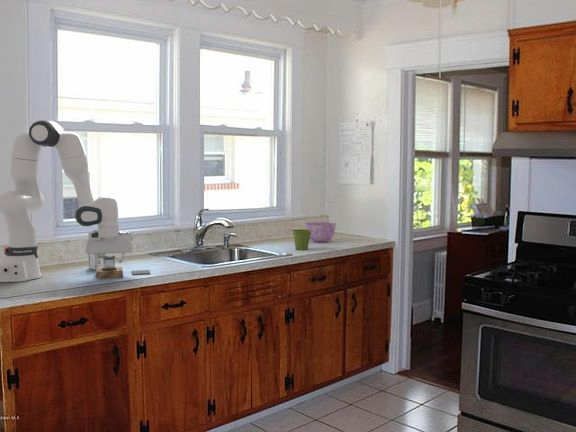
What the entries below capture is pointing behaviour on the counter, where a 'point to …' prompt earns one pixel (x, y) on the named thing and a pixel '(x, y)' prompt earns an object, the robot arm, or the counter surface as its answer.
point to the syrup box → (95, 261)
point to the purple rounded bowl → (321, 231)
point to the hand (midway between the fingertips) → (109, 263)
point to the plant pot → (301, 238)
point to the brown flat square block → (109, 273)
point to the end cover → (108, 262)
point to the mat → (140, 272)
